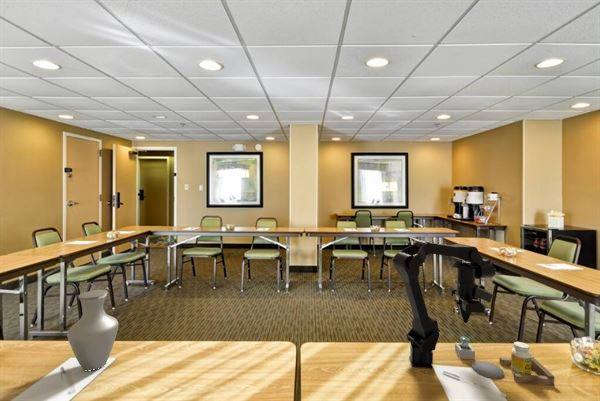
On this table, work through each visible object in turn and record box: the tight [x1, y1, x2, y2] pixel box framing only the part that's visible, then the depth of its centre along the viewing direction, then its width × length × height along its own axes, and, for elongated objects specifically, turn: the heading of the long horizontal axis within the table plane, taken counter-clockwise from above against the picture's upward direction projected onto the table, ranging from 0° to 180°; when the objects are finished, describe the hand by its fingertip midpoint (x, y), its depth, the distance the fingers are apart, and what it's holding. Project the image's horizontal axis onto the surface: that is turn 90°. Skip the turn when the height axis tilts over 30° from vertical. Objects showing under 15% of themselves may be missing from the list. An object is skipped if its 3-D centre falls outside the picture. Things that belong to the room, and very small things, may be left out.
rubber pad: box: [471, 360, 505, 380], centre depth 102 cm, size 9×9×1 cm
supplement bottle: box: [510, 341, 533, 375], centre depth 100 cm, size 5×5×10 cm
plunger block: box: [454, 342, 476, 360], centre depth 111 cm, size 5×5×3 cm
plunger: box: [459, 335, 471, 349], centre depth 111 cm, size 3×3×4 cm
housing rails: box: [498, 356, 555, 387], centre depth 100 cm, size 10×11×3 cm
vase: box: [66, 289, 120, 371], centre depth 104 cm, size 14×14×25 cm
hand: (465, 322), depth 111 cm, fingers closed
